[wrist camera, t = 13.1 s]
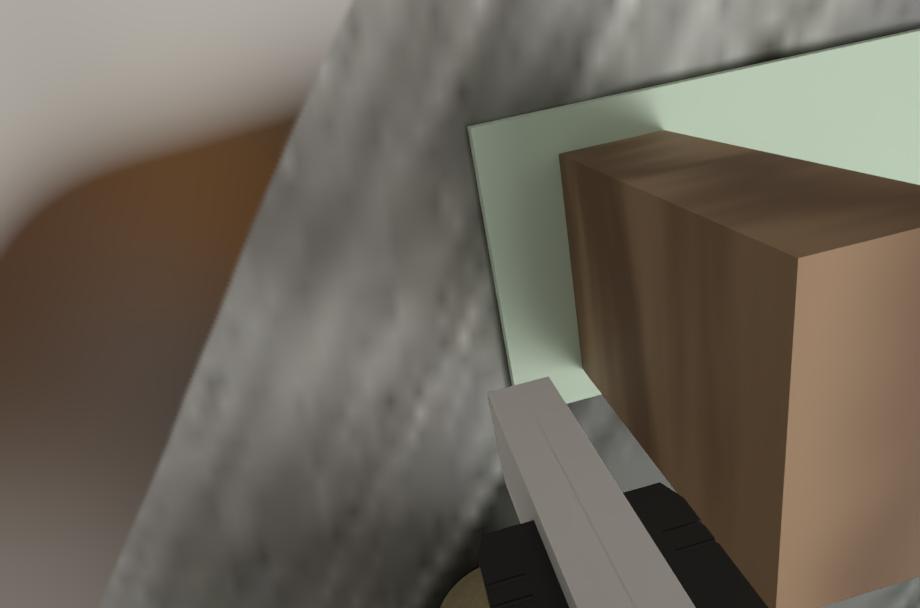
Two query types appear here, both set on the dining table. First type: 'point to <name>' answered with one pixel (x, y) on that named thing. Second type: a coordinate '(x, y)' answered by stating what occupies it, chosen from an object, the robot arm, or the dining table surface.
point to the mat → (691, 113)
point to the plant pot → (467, 593)
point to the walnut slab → (760, 349)
